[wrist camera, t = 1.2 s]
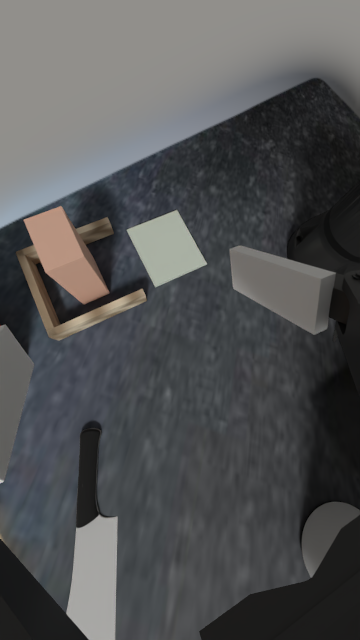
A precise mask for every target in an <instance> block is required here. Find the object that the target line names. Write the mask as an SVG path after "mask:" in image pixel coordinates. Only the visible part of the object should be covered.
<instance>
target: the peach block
mask: <svg viewBox="0 0 360 640" xmlns="http://www.w3.org/2000/svg"><path fill="white" fill-rule="evenodd" d="M24 222H25V225H26V227H27V229H28V232H29V234H30V237H31V239H32V241H33V244H34V246H35V249H36V251H37V254H38V256H39V258H40V261H41V263H42V266H43V268H44V270H45V273H47V274H48V275H49V276H50V277H51V278H53V279H54V280H55V281H56V282H57V283H59V284H60V285H61V286H62V287H63V288H65V289H66V290H67V291H68V292H69V293H71V294H72V295H73V296H74V297H75V298H77V299H78V300H79V301H80V302H81V303H83V304H84V305H85V304H87V303H89V302H91V301H94V300H96V299H98V298H101V297H103V296H105V295H108V294H110V292H109V290H108V288H107V286H106V284H105V282H104V279H103V277H102V275H101V273H100V271H99V269H98V266H97V264H96V262H95V260H94V258H93V256H92V254H91V253H90V251H89V250H88V248H87V246H86V245H85V243H84V242H83V240H82V238H81V237H80V235H79V234H78V232H77V230H76V229H75V227H74V226H73V224H72V222H71V221H70V219H69V218H68V216H67V214H66V213H65V211H64V210H63V208H62V206H60V207H58V208H55V209H52V210H49V211H46V212H44V213H41V214H38V215H35V216H33V217H30V218H27V219H24Z"/></svg>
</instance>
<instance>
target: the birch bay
mask: <svg viewBox="0 0 360 640" xmlns="http://www.w3.org/2000/svg"><path fill="white" fill-rule="evenodd" d="M76 230H77V232H78V234H79V235H80V237H81V238H82V240H83V242H84V243H85V245H86V244H89V243H91V242H94V241H97V240H99V239H102V238H104V237H107V236H109V235H112V234H114V232H113V229H112V227H111V224H110V222H109V220H108V218H107V217H106V218H104V219H101V220H98V221H96V222H93V223H90V224H88V225H85V226H82V227H80V228H77V229H76ZM16 255H17V257H18V260H19V262H20V265H21V267H22V270H23V272H24V275H25V277H26V280H27V282H28V285H29V288H30V290H31V293H32V295H33V298H34V300H35V303H36V305H37V308H38V310H39V313H40V315H41V318H42V320H43V323H44V326H45V328H46V331H47V333H48V336H49V338H53V339H56V340H61V339H63V338H66V337H68V336H70V335H72V334H74V333H77V332H79V331H81V330H83V329H85V328H88V327H90V326H92V325H94V324H97V323H99V322H101V321H103V320H105V319H108V318H110V317H112V316H114V315H117V314H119V313H121V312H123V311H125V310H128V309H130V308H132V307H134V306H136V305H139V304H141V303H143V302H145V301H147V299H146V295H145V293H144V291H143V289H140V290H138V291H136V292H134V293H131V294H129V295H127V296H124V297H122V298H120V299H118V300H115V301H113V302H111V303H109V304H106V305H104V306H102V307H99V308H97V309H95V310H93V311H90V312H88V313H86V314H84V315H81V316H79V317H77V318H75V319H72V320H70V321H68V322H65V323H63V324H61V325H60V322H59V320H58V317H57V315H56V313H55V310H54V308H53V305H52V303H51V300H50V298H49V295H48V293H47V290H46V288H45V286H44V283H43V281H42V278H41V276H40V273H39V271H38V268H37V266H36V264H38V263H41V261H40V258H39V256H38V254H37V251H36V249H35V246H34V245H33V246H30V247H27V248H25V249H22V250H19V251H17V252H16Z"/></svg>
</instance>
